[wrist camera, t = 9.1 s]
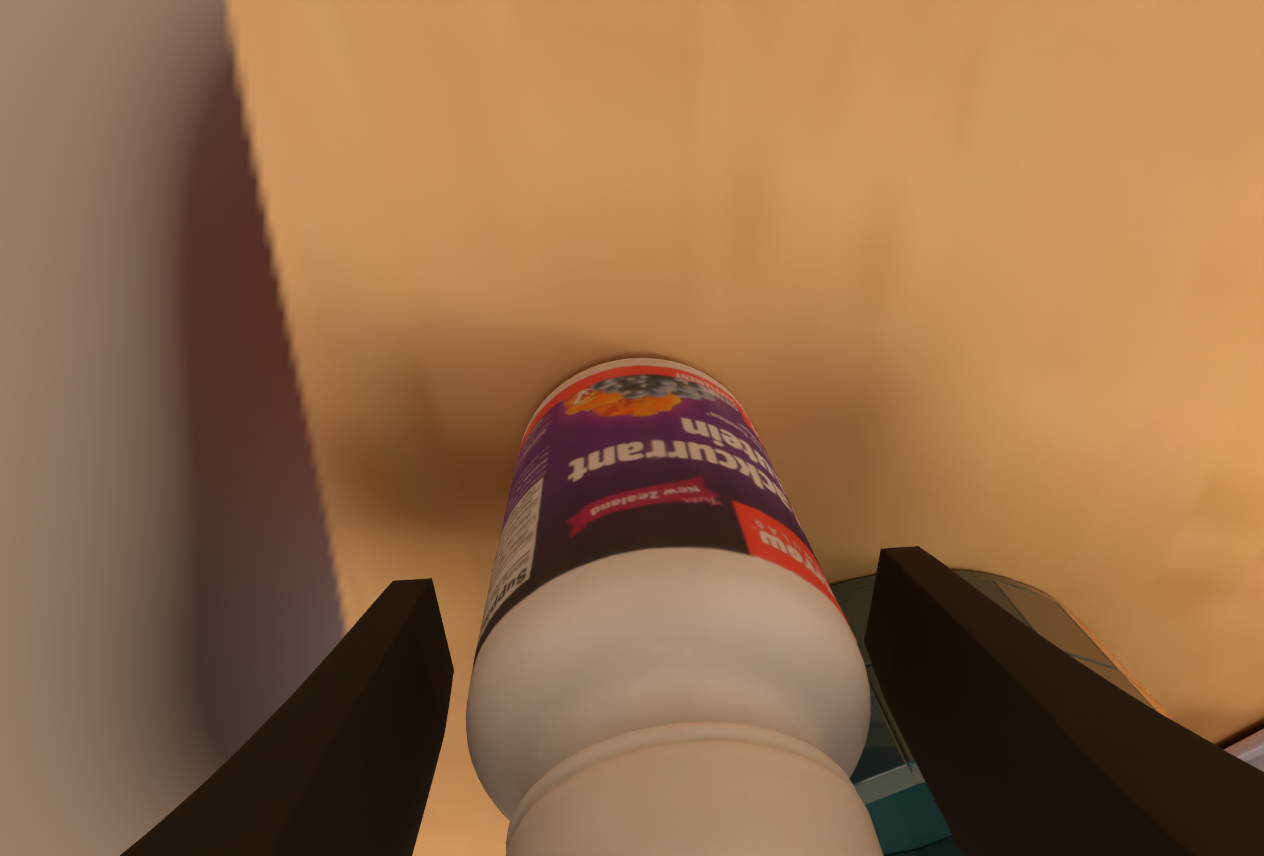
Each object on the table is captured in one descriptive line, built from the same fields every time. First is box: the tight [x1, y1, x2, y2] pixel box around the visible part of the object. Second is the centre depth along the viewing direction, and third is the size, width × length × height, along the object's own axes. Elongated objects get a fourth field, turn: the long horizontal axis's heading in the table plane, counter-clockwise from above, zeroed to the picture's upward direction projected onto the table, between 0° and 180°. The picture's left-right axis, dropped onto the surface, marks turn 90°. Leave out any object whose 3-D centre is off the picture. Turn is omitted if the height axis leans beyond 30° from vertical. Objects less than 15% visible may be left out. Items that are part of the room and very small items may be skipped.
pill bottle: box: [466, 358, 883, 856], centre depth 10 cm, size 5×5×10 cm
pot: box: [830, 570, 1175, 856], centre depth 18 cm, size 14×14×5 cm
